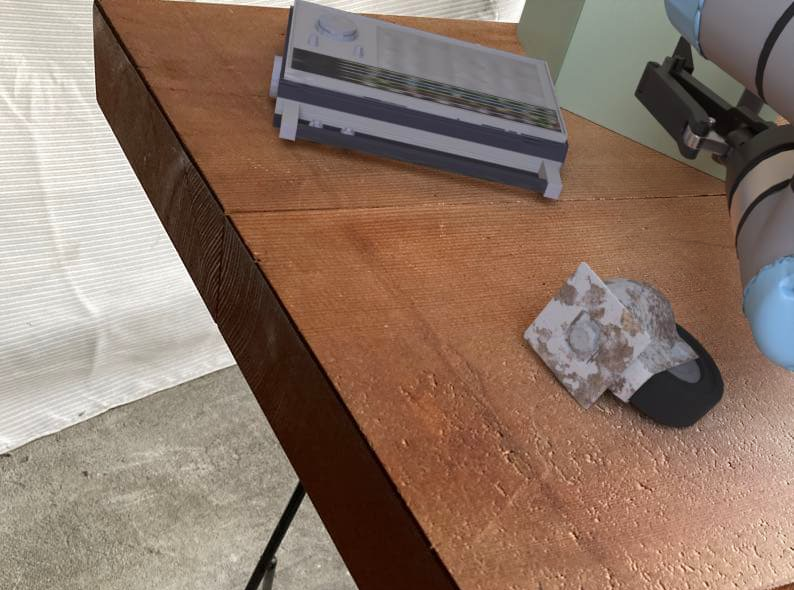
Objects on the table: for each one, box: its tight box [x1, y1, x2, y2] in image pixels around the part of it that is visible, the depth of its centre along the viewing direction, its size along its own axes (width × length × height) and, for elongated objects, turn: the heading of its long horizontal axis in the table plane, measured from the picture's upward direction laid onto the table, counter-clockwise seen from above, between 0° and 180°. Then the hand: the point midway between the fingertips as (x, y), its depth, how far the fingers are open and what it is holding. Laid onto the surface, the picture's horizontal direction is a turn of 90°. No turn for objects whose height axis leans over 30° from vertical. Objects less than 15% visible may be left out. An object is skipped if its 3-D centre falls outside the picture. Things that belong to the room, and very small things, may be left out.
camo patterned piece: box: [523, 261, 725, 429], centre depth 64 cm, size 7×11×10 cm
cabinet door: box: [554, 0, 780, 183], centre depth 84 cm, size 8×20×22 cm, turn 63°
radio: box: [268, 0, 570, 200], centre depth 83 cm, size 24×5×20 cm
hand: (756, 79), depth 80 cm, fingers open, 13 cm apart
